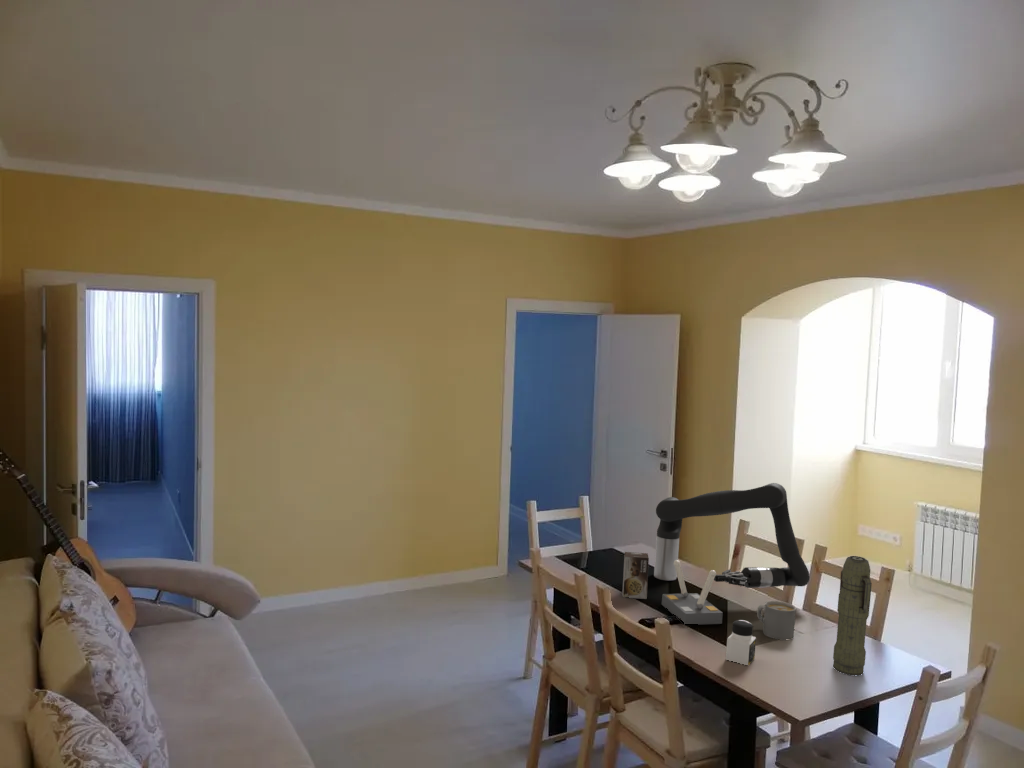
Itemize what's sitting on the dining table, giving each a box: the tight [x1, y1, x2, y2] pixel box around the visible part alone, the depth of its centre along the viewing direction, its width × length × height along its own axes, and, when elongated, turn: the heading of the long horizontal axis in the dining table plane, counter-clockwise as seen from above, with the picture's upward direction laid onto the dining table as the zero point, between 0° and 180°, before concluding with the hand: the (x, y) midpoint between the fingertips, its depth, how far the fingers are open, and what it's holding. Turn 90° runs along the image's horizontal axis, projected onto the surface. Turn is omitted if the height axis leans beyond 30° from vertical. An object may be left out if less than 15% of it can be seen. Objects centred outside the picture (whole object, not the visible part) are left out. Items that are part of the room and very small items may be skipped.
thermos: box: [832, 555, 873, 677], centre depth 237 cm, size 9×12×35 cm
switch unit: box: [661, 592, 724, 625], centre depth 280 cm, size 20×14×4 cm
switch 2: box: [696, 569, 717, 609], centre depth 274 cm, size 2×2×14 cm
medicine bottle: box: [725, 619, 757, 667], centre depth 241 cm, size 7×7×12 cm
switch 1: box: [674, 559, 688, 598], centre depth 284 cm, size 2×2×14 cm
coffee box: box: [621, 551, 650, 600], centre depth 296 cm, size 9×6×16 cm
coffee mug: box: [756, 600, 797, 641], centre depth 266 cm, size 13×10×10 cm
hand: (714, 578), depth 287 cm, fingers closed
